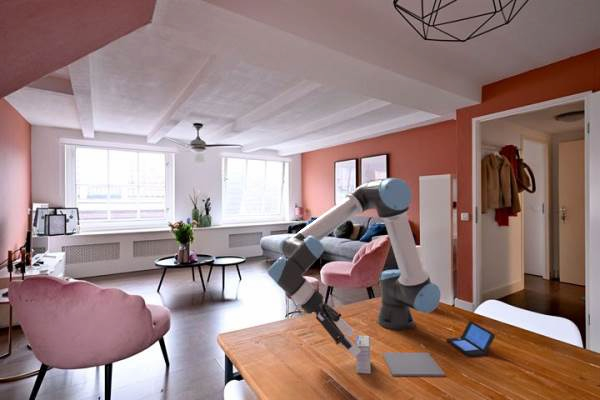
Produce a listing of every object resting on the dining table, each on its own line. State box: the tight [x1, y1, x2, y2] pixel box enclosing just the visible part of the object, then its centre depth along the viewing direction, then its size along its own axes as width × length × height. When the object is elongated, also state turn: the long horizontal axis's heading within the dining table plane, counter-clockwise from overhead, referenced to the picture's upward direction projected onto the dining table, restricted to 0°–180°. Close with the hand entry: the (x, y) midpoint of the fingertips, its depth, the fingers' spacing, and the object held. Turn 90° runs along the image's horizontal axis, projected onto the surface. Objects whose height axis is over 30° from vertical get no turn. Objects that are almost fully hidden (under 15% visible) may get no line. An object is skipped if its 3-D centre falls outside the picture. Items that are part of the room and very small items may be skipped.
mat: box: [382, 352, 446, 377], centre depth 100 cm, size 13×16×1 cm
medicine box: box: [355, 335, 372, 375], centre depth 99 cm, size 8×4×9 cm, turn 168°
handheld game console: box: [446, 320, 496, 358], centre depth 111 cm, size 12×11×7 cm
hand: (354, 343), depth 99 cm, fingers open, 13 cm apart
